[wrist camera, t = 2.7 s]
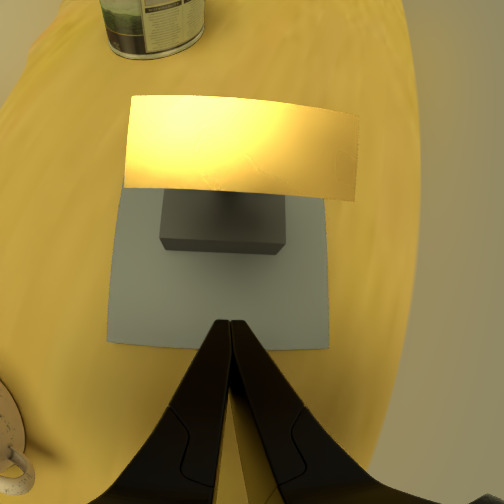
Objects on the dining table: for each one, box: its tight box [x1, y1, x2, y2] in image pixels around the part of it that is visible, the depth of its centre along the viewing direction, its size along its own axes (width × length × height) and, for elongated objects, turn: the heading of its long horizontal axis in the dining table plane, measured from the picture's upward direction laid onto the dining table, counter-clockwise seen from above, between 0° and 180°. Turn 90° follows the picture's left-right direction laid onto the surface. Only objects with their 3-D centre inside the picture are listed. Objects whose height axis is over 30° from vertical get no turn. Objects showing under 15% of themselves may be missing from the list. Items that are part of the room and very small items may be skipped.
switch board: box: [107, 175, 329, 350], centre depth 19 cm, size 16×14×6 cm
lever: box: [124, 96, 359, 202], centre depth 12 cm, size 2×5×12 cm, turn 88°
